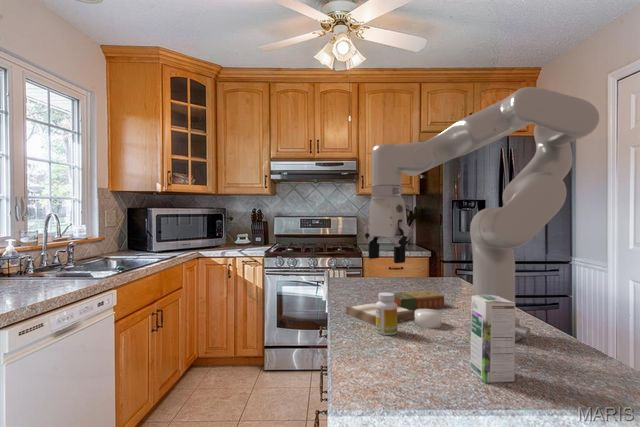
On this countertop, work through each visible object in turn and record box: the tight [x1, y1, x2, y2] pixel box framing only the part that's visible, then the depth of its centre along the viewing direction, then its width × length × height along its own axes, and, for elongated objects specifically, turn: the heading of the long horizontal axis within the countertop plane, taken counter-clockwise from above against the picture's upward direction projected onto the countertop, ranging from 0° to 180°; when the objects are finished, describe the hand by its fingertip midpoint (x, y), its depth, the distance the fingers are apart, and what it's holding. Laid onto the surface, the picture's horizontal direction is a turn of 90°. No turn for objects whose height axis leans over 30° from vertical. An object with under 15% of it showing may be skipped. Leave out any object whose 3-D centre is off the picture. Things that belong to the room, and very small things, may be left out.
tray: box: [345, 301, 415, 327], centre depth 106 cm, size 14×14×2 cm
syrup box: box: [470, 295, 516, 384], centre depth 67 cm, size 6×6×14 cm
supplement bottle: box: [375, 292, 398, 336], centre depth 92 cm, size 5×5×10 cm
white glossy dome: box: [414, 308, 443, 329], centre depth 98 cm, size 7×7×4 cm
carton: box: [392, 290, 445, 311], centre depth 118 cm, size 8×16×4 cm, turn 107°
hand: (386, 260), depth 92 cm, fingers open, 9 cm apart
